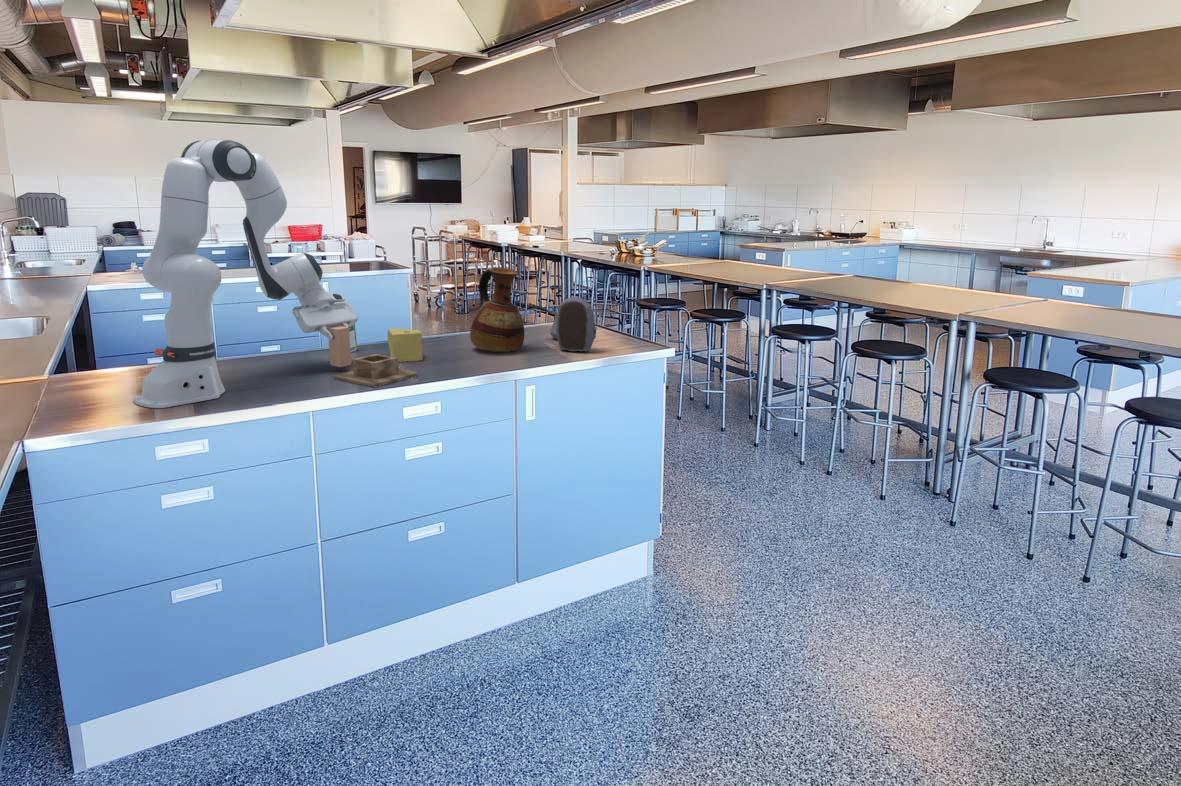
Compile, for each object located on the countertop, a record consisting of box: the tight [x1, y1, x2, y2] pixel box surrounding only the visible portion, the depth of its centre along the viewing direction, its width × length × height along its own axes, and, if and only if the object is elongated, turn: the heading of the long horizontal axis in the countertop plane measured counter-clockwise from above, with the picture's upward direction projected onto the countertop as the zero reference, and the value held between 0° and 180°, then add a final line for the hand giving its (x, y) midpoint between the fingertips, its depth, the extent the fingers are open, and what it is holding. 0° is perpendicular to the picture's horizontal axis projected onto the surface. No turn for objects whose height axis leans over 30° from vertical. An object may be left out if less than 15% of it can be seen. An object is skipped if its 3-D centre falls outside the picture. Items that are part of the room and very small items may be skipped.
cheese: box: [387, 327, 423, 363], centre depth 253 cm, size 10×11×10 cm
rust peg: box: [328, 326, 352, 368], centre depth 235 cm, size 4×4×12 cm
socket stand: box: [332, 353, 419, 388], centre depth 228 cm, size 18×18×6 cm
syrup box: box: [348, 323, 358, 353], centre depth 262 cm, size 6×6×14 cm
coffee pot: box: [526, 302, 560, 340], centre depth 289 cm, size 21×12×15 cm, turn 115°
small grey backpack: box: [556, 296, 597, 353], centre depth 269 cm, size 15×8×20 cm, turn 72°
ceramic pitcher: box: [469, 267, 525, 353], centre depth 267 cm, size 20×20×30 cm
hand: (340, 337), depth 233 cm, fingers closed on rust peg, 4 cm apart
